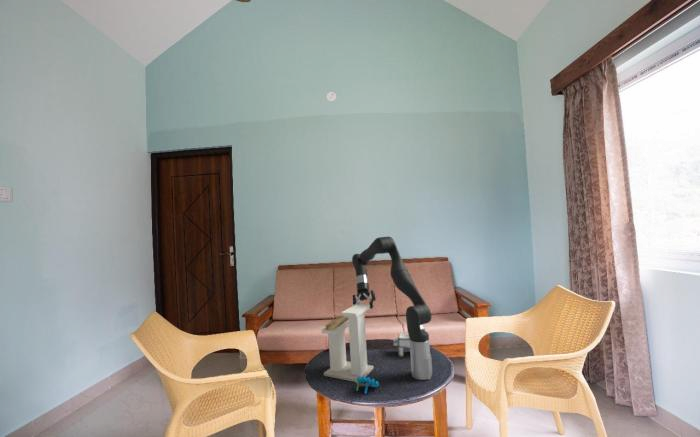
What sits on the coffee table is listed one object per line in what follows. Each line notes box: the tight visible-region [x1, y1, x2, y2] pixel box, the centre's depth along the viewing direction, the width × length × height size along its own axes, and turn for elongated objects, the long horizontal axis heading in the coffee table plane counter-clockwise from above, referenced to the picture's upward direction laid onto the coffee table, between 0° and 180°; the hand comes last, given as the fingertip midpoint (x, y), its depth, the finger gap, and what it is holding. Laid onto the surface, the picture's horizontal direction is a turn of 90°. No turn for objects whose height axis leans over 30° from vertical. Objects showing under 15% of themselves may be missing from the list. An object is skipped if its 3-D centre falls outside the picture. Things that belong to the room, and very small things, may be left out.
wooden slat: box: [325, 315, 349, 331], centre depth 162 cm, size 3×25×3 cm, turn 153°
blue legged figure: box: [354, 376, 380, 395], centre depth 135 cm, size 11×6×10 cm
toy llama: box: [393, 324, 426, 358], centre depth 172 cm, size 8×18×20 cm, turn 78°
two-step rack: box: [321, 304, 375, 383], centre depth 155 cm, size 20×16×32 cm
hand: (364, 310), depth 180 cm, fingers open, 8 cm apart
